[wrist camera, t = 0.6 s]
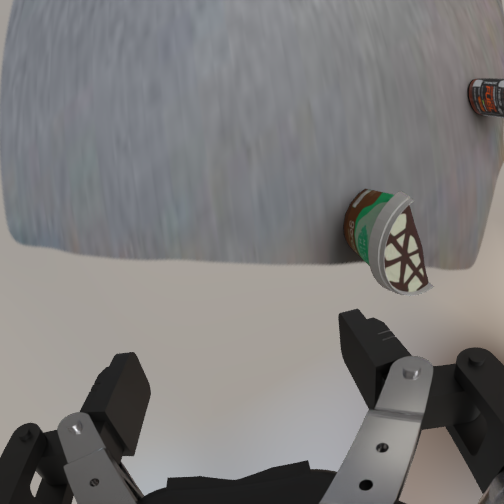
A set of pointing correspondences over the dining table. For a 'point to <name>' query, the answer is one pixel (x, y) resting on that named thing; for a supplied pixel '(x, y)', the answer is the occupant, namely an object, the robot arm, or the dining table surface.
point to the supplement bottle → (487, 97)
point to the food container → (387, 240)
